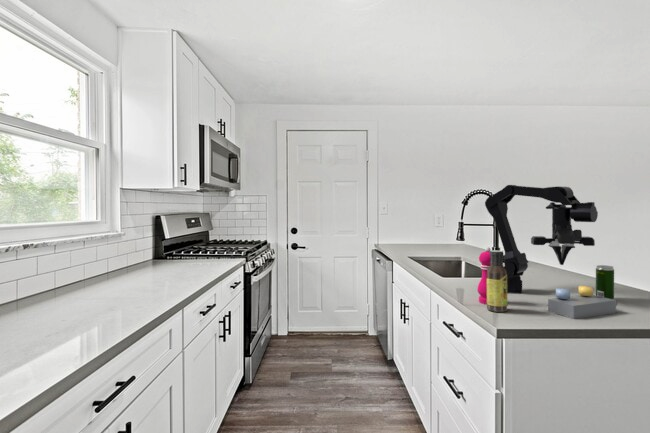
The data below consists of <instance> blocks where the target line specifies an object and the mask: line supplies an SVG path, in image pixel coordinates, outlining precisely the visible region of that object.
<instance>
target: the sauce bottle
mask: <svg viewBox="0 0 650 433" xmlns="http://www.w3.org/2000/svg"><path fill="white" fill-rule="evenodd" d="M490 256H491V262H490V263H491V265H490V267H489V268H488V270H487V304H486V309H487V310H488V311H490V312H496V313H503V312H506V311H507V310H508V293H507V272H506V269H505V268H504V266H505V265H504V259H503V258H504V250H496V249H495V250H490Z"/></svg>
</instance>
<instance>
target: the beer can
mask: <svg viewBox="0 0 650 433" xmlns="http://www.w3.org/2000/svg"><path fill="white" fill-rule="evenodd" d="M595 296H600V297H604V298H609V299H613V300H615V299H614V298H615V269H614V266H612V265H603V264H602V265H599V264H598V265H596V267H595Z"/></svg>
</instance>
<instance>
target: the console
mask: <svg viewBox="0 0 650 433" xmlns="http://www.w3.org/2000/svg"><path fill="white" fill-rule="evenodd" d="M547 311H548V312H550V313H553V314H557V315H560V316H562V317H566V318H570V319H573V320H574V319H575V320H577V319H582V318H588V317H595V316H601V315H610V314H614V313H615V314H616V313H617V300H616V299H609V298H604V297H600V296H596V294H593V296H589V297H587V298H586V297H583V295H579V294H578V295H570V299H566V300H560V298H557V297H554V298H547Z"/></svg>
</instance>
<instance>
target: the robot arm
mask: <svg viewBox="0 0 650 433" xmlns="http://www.w3.org/2000/svg"><path fill="white" fill-rule="evenodd" d="M515 196H520V197H521V196H522V197H531V198H540V199H544V200H546V201H548V202H550V203H549V204H547V206H545V209H547V210H551V214H552V215H551V217H552V220H551V222H552V223H551V227H552V229H551V231H552V232H551V233H552V235H551V238H549V237H547V238H546V236H542V235H539V236H538V235H535V236H532V237H531V238H530V244H531V245H533V246H545V245H546V244H548V247H550V248H551V249H552V250H553V251H554V253H555V255H556V258H557V261H558V262H559V263H558V264H559V265H560V266H564V263H565V261H566V259H567V257H568V255H569V253H570V251H571V250H573V249H575V248H576V246H575V245H577V244H579V245H583V246H585V247H594V246H595V243H596V242H595V239H594V238H593V237H592V236H583V234H582V229H574V230H573V226H572V220H573V222H575V223H595V222H596V221H597V219H598V216H599V215H598V210H597V206H596V205H595V201H593V202H592V201H590V202H588V201H587V202H580V200H578V198H577V197H576V196H575V195H574V191H573V189H572V187H569V186H550V187H549V186H547V187H533V186H524V185H516V184H507V185H505V186H504V187H503V188H502V189H500V190H499V191H498V192H496V193H494V194H493V195H491V196H488V197H487V198H486V200H485V201H484V206H485V208H486V209H487V212H488V214H490V216H491V217H492V218H493V220H494V222H495V225H496V228H497V232H498V234H499V238H500V241H501V243H502V247H503V252H504V255H503V258H504V259H503V266H504V268H505V269H506V272H507V294H508V293H511V294H522V291H523V280H522V278H521V277H522V276H524V273H525V272H526V271H527V269H528V268H529V267H528V266H529V264H528V263H529V261H528V259H527V254H526V253H525V252H521V251H520V250H519V248H518V247H517V243H516V241H515V237H514V234H513V231H512V228H511V224H510V221H509V218H508V209H509V207H508V204H509V203H510V202H511V201H512V200H513V198H514V197H515ZM556 203H557V204H556ZM558 203H559V204H558ZM568 206H569V207H568Z"/></svg>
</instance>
